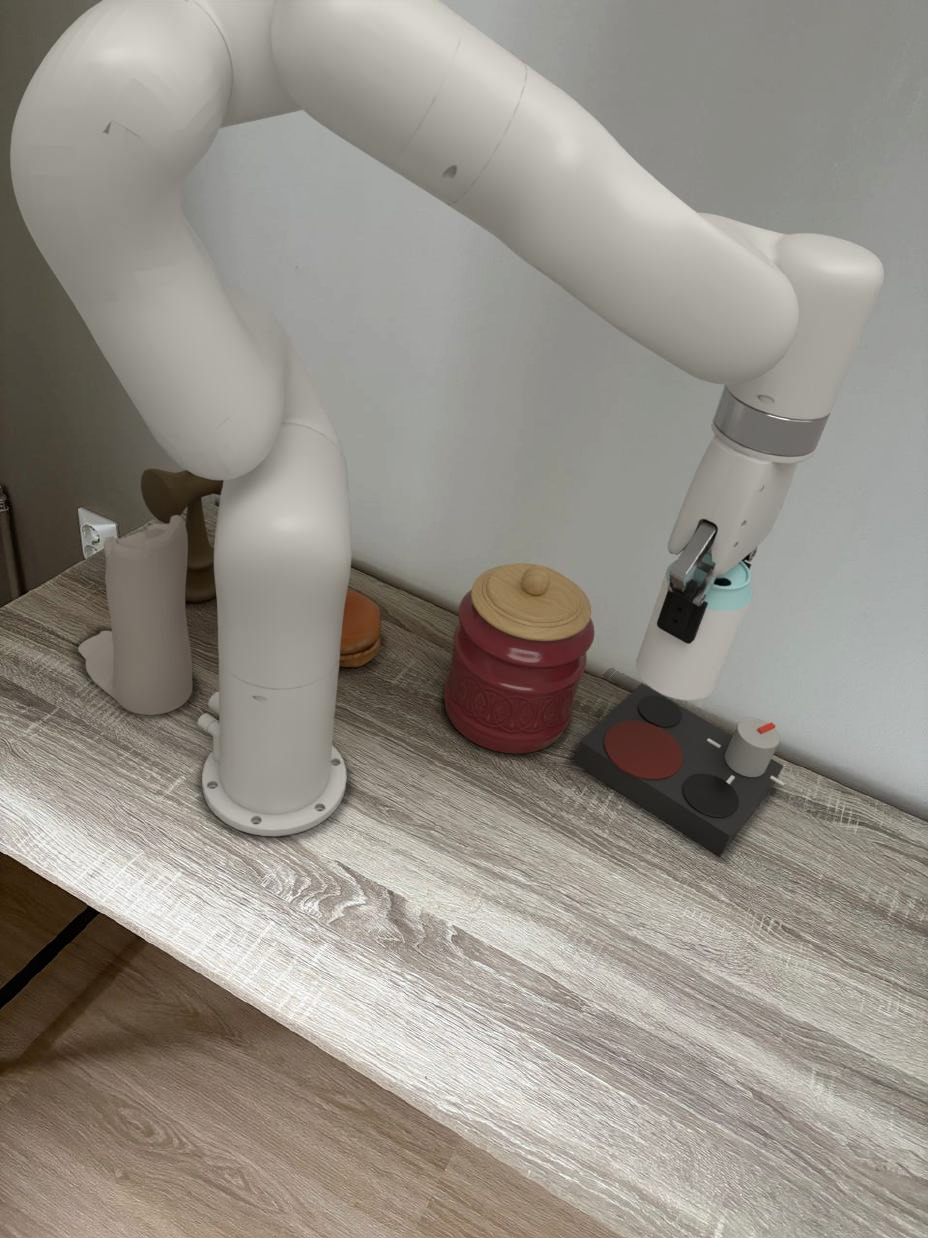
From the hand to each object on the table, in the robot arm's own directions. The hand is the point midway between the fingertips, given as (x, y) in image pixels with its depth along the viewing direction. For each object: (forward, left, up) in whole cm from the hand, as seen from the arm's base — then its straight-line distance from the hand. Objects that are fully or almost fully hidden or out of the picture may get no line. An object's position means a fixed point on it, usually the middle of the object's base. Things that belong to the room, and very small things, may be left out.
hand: (697, 612), depth 81 cm
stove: (+2, +4, -21) cm, 22 cm away
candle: (-44, -24, -21) cm, 54 cm away
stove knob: (+7, +8, -18) cm, 21 cm away
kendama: (-50, -11, -21) cm, 55 cm away
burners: (+2, +4, -18) cm, 19 cm away
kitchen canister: (-15, -1, -21) cm, 26 cm away
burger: (-34, -6, -21) cm, 40 cm away
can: (0, 0, -7) cm, 7 cm away
